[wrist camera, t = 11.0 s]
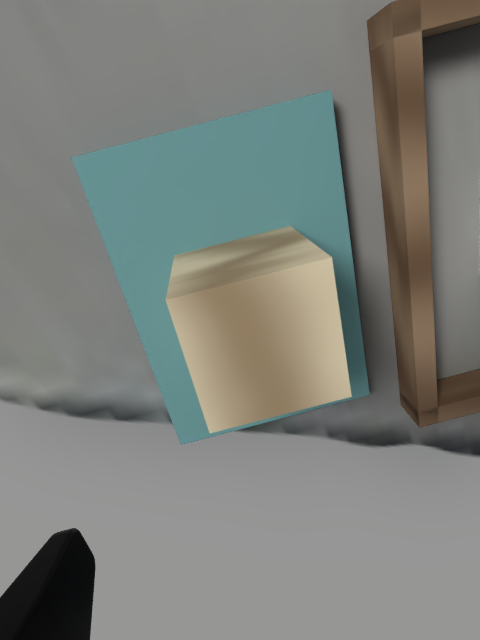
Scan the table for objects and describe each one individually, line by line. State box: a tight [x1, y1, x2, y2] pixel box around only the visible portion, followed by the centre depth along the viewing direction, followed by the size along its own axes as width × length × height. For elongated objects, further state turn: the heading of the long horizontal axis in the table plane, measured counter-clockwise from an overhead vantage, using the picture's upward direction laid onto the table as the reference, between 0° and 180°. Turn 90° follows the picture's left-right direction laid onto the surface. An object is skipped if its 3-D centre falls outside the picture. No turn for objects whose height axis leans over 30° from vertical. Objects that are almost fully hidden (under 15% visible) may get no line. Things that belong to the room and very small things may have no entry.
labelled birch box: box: [166, 226, 352, 433], centre depth 15 cm, size 5×5×6 cm
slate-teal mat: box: [72, 90, 370, 444], centre depth 18 cm, size 14×10×1 cm
